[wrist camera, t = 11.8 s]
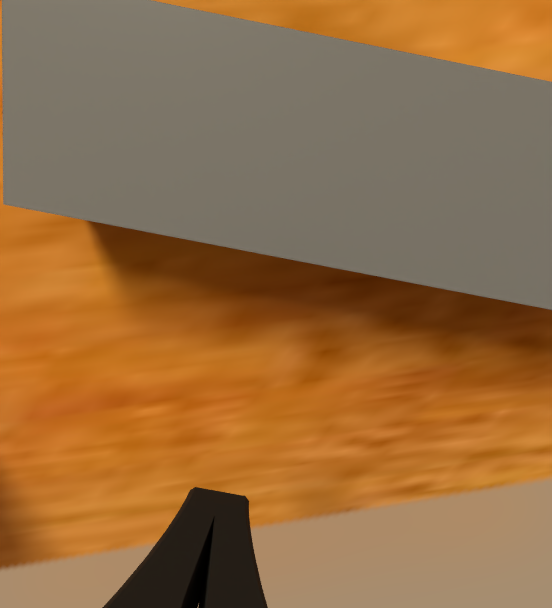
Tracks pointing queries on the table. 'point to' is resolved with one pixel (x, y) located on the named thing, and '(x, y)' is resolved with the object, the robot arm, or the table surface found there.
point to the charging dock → (280, 143)
